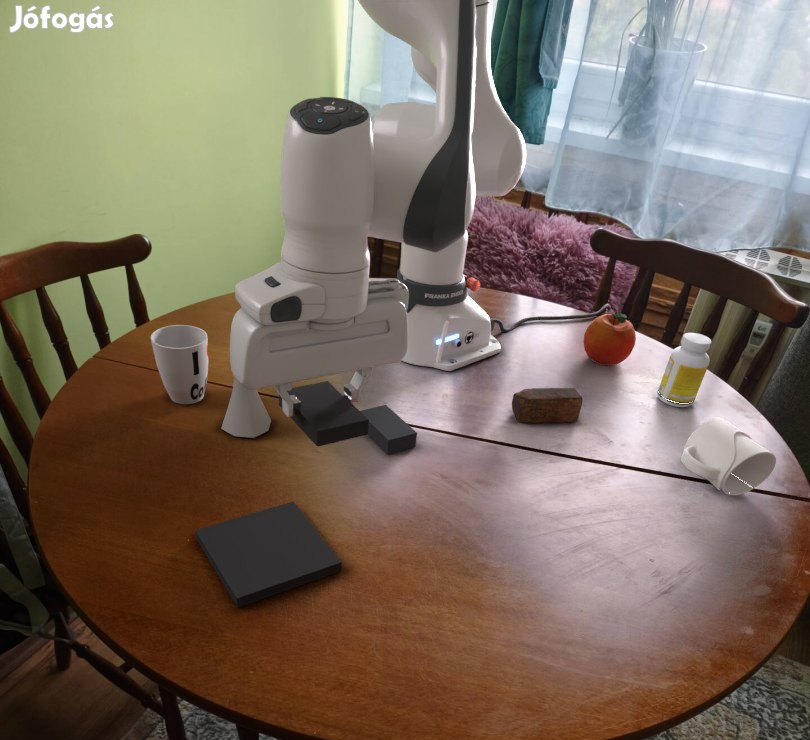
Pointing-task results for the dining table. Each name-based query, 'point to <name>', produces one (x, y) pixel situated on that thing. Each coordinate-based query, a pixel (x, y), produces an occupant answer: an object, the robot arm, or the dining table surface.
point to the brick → (547, 405)
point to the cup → (182, 361)
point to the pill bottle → (685, 370)
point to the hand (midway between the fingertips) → (322, 407)
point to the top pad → (389, 430)
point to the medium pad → (327, 414)
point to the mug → (727, 457)
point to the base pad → (267, 553)
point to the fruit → (609, 339)
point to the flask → (245, 413)
